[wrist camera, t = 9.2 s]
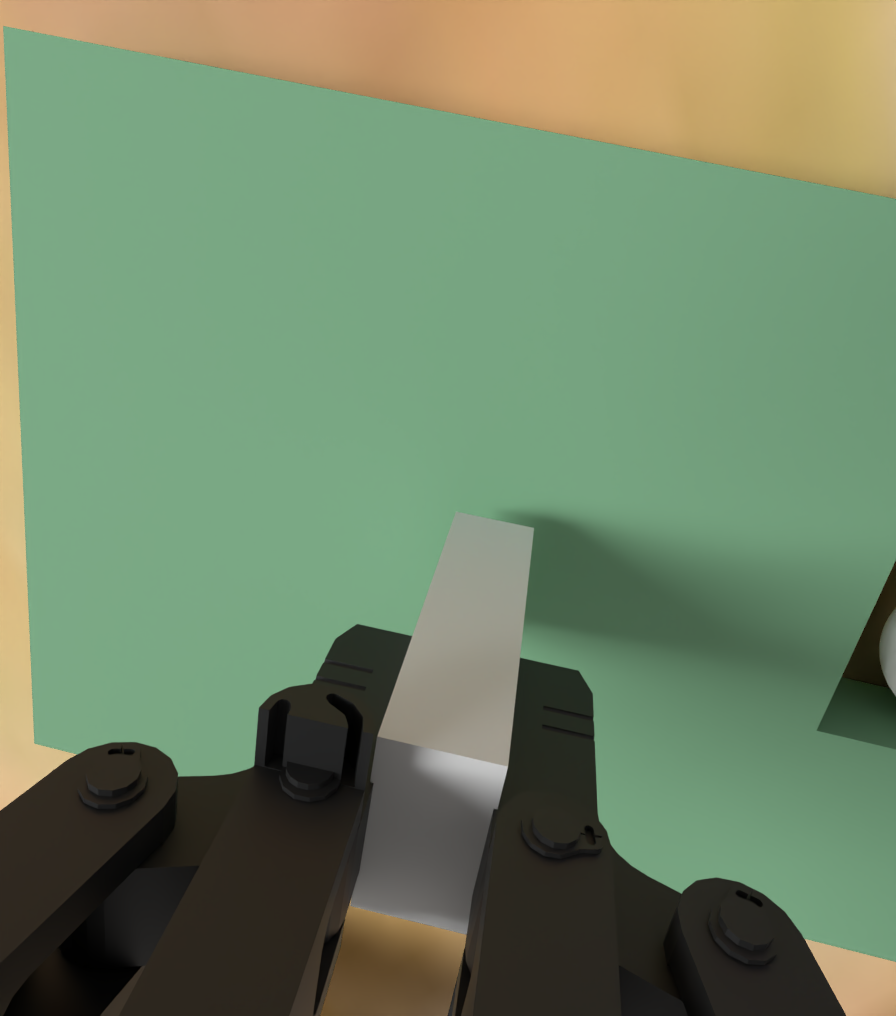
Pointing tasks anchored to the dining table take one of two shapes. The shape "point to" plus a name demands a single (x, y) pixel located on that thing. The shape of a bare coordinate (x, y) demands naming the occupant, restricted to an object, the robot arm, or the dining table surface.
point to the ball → (889, 651)
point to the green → (461, 441)
